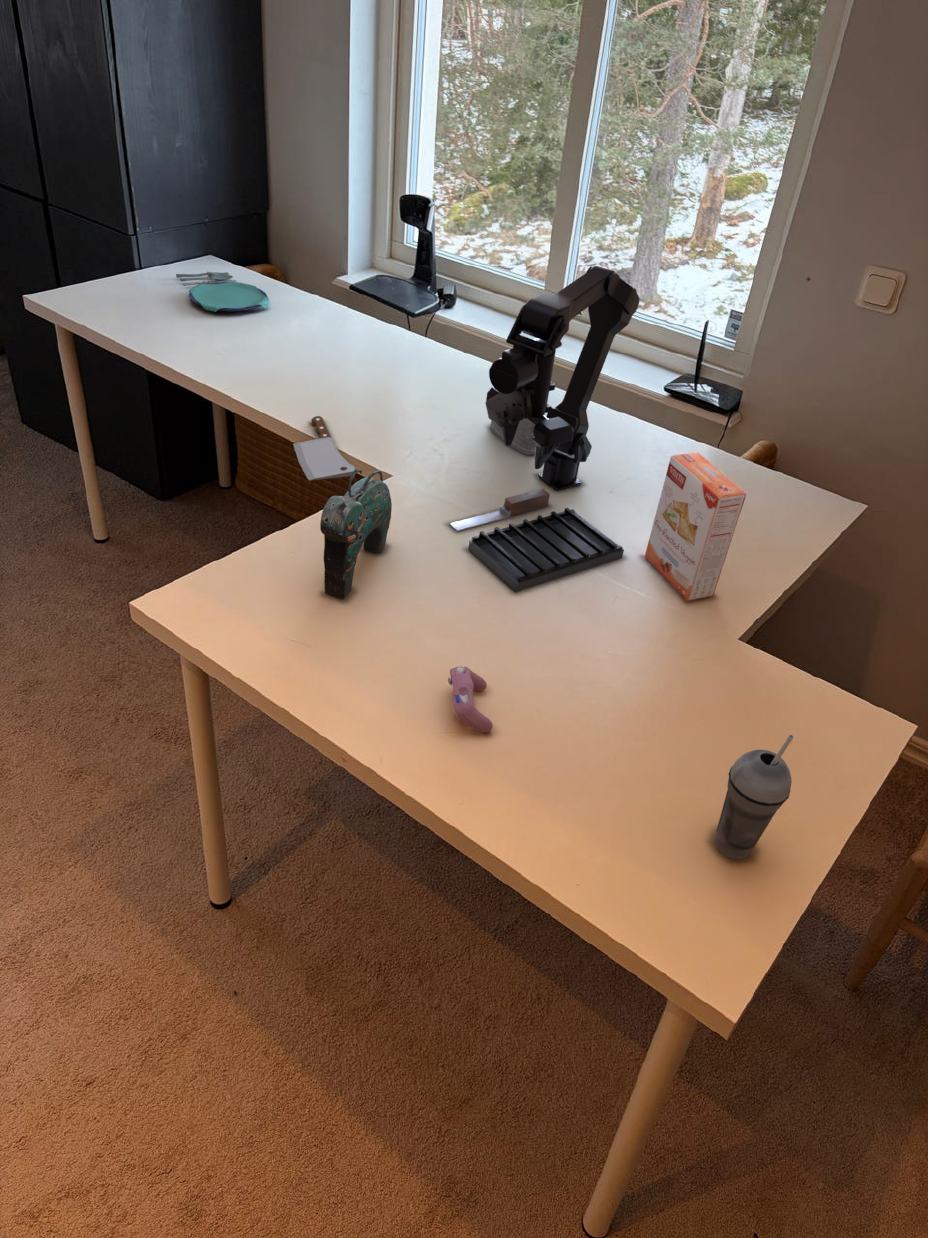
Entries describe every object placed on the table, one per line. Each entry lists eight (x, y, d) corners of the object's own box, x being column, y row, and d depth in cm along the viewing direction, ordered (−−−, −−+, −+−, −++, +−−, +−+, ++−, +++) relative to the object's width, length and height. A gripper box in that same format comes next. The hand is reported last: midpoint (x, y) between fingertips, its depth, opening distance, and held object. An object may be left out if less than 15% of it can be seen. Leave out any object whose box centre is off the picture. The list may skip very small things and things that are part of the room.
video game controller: (459, 694, 138) (441, 661, 134) (488, 684, 138) (471, 651, 134) (464, 743, 131) (446, 709, 127) (495, 732, 130) (478, 698, 126)
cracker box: (641, 557, 170) (669, 453, 158) (669, 553, 172) (699, 450, 160) (685, 603, 160) (718, 495, 148) (714, 597, 163) (749, 491, 150)
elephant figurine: (345, 607, 150) (349, 498, 137) (308, 596, 151) (309, 486, 139) (396, 546, 165) (403, 443, 153) (362, 536, 166) (367, 433, 154)
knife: (540, 500, 183) (542, 487, 181) (548, 506, 181) (550, 494, 179) (449, 524, 172) (450, 511, 171) (457, 531, 171) (458, 518, 169)
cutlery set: (203, 320, 236) (202, 310, 235) (168, 279, 256) (167, 270, 254) (279, 312, 245) (279, 304, 243) (239, 274, 265) (239, 265, 263)
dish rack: (573, 519, 178) (575, 504, 176) (622, 558, 169) (626, 543, 168) (467, 549, 166) (469, 534, 164) (515, 592, 158) (517, 577, 156)
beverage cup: (717, 813, 123) (762, 700, 111) (769, 842, 120) (822, 728, 108) (694, 848, 118) (739, 733, 106) (749, 878, 115) (801, 764, 103)
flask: (523, 456, 196) (536, 374, 185) (484, 427, 205) (494, 347, 194) (537, 453, 198) (551, 372, 187) (498, 424, 207) (509, 344, 196)
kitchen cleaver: (283, 418, 196) (331, 414, 199) (283, 423, 197) (331, 418, 200) (305, 478, 179) (357, 472, 182) (306, 483, 179) (357, 477, 182)
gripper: (465, 361, 164) (457, 442, 174) (529, 406, 153) (516, 490, 162) (517, 352, 170) (506, 431, 179) (582, 395, 158) (567, 477, 168)
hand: (522, 456), depth 172 cm, fingers open, 9 cm apart
